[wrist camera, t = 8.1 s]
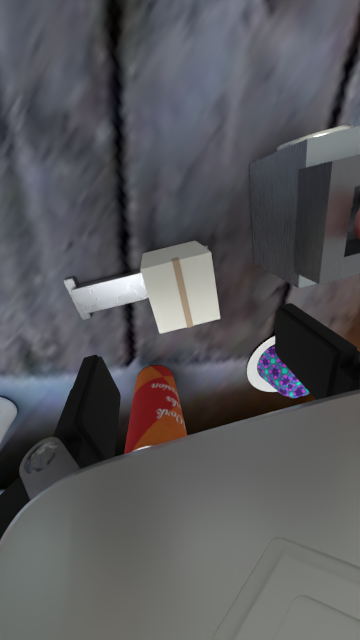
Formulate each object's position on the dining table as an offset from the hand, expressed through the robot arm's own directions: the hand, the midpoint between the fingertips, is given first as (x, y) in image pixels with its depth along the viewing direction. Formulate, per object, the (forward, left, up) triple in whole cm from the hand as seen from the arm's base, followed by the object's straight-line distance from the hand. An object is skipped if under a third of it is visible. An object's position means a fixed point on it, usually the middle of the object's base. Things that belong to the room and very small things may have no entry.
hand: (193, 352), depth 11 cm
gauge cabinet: (-4, +13, -16) cm, 21 cm away
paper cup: (+15, -6, -16) cm, 23 cm away
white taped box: (0, +1, -16) cm, 16 cm away
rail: (0, -3, -16) cm, 16 cm away
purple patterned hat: (+18, +14, -16) cm, 28 cm away
